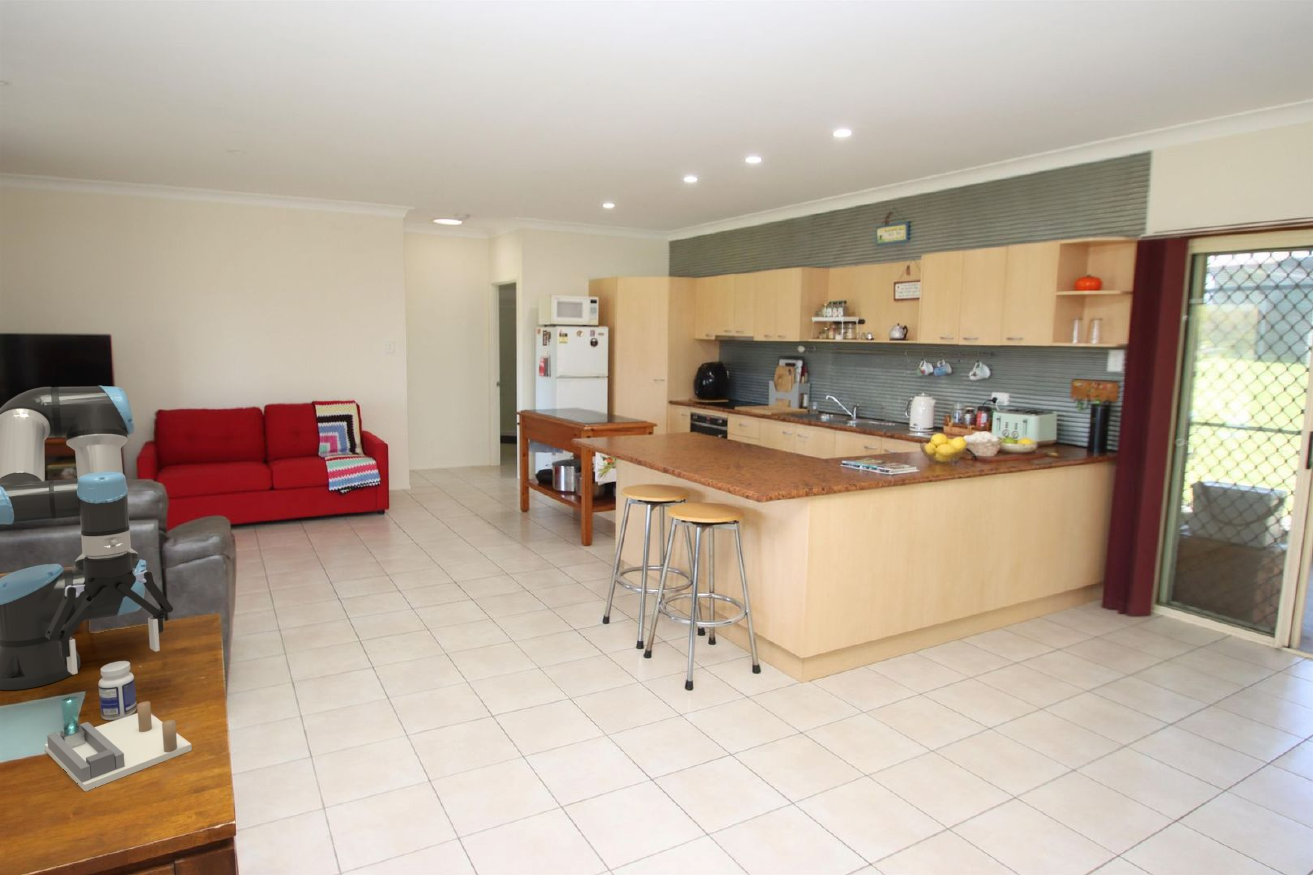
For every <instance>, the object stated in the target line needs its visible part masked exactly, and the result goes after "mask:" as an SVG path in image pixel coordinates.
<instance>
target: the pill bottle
mask: <svg viewBox="0 0 1313 875" xmlns="http://www.w3.org/2000/svg"><path fill="white" fill-rule="evenodd" d="M130 671H131V662H129V661H127V660H119V661H113V662H109V663H107V664H105V665H103V666H102V667H101V668H100V675H101V678H100V679H99V681H98V694H99V695H98V696H99V705H100V707H99V708H100V716H101V718H102V719H103V720H105V721H115V720H118V719H121V718H124V717H127V716H130V715H133V714H135V712H136V710H137V705H138V703H137V696H136V683H135V675H134V674H133V673H132V672H130Z"/></svg>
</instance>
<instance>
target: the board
mask: <svg viewBox="0 0 1313 875" xmlns="http://www.w3.org/2000/svg"><path fill="white" fill-rule="evenodd" d="M136 710H137V713H133V714H131V715H129V716H127V717H124V718H121V719H117V720H111V721H110V722H106V723H104V724H100V725H98V726H95V727H94V726H93V724H91V723H90V722H88V721H85V722H83V723H79V727H80V728H81V729H82V730H83V731H84V739H85V744H82V745H79V746H77V747H74V748H71V747H70V746H69V745H68V744H67V743H66V742H65V741H64V740H63V739H62V738H61V737H60V734H58V733H57V732H52V733H50V734H46V737H47V742H46V743H44V751H45V752H46V753H47V754H48V755H49V756H50V757H51V758H52V759H53V760H54V761H55V762H56V764H57V765H59V767H60V768H61V769H62V770H63V769H64V770H65V771H66V772H67V773H66V772H65V771H64V770H63V771H64V772H65V773H66V774H67V775H68V776H69V777H70V778H71V779H72V780H73V781H74V783H76V784H77V783H78V784H77V786H79V787H80V788H81V789H82V790H83V791H84V792H88V791H91V790H93V789H96V788H99V787H101V786H103V785H106V784H108V783H111V782H114V781H116V780H119V779H122V778H123V777H127V776H130V775H131V774H134V773H137V772H140V771H143V770H145V769H147V768H149V767H152V766H154V765H157V764H160V763H162V762H165V761H168V760H172V759H173V758H176V757H178V756H180V755H183V754H185V753H188V752H191V751H193V750H192V749H193V747H192V743H191V742H189V741H188V740H187V739H186V738H184V737H183V736H181V734H178V732H177V723H176V720H175V719H168V720H165V721H161V720H160V719H159V718H158V717H157V716H155V715H154V714H152V711H151V710H152V708H151V701H142V702H138V703H137V709H136ZM95 787H96V788H95Z"/></svg>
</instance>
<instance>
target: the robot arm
mask: <svg viewBox="0 0 1313 875" xmlns="http://www.w3.org/2000/svg"><path fill="white" fill-rule="evenodd" d="M134 433H135V425H134V420H133V413H132V410H131V406H130V402H129V399H128V395H127V394H126V392H125V390H124V389H123V388H121V387H120V386H105V385H104V386H103V385H97V386H54V387H52V386H43V387H42V386H41V387H37V388H33V389H29V390H26V391H24V392H22V393H19V394H17V395H15V396H14V397H12V398H11V399H9V400H8V401H6V402H5V403H4V404H3V405H1V407H0V525H13V524H19V523H31V522H37V521H38V522H39V521H46V520H47V521H48V520H58V519H70V518H78V517H79V522H80V533H81V537H80V538H81V554H80V555H79V556H78V557H77V558H76V559H75V560H74V566H75V568H73V569H66V570H64V567H63V565H61V564H59V563H50V564H48V563H47V564H46V563H45V564H39V565H34V566H29V567H26V568H23V569H18V570H16V571H13V572H11V573H8V574H6V575H4V576H2V577H0V690H3V691H15V690H17V691H18V690H26V689H31V688H32V689H33V688H37V687H41V686H45V685H49V684H54V683H56V682H58V681H61V680H64V679H66V678H68V677H70V676H71V675H76V674H78V671H79V670H80V668H81V656H80V654H79V653H78V650H77V649H76V639H75V638H73V637H72V636H73V635H74V634H75V633H76V632H77V630H78V628H80V626H81V624H82V623H83V622H84V621H91V620H97V619H102V618H103V619H105V618H110V617H119V616H121V615H127V614H131V613H136V612H138V611H139V610H140V609H141V608H142V609H144V610H145V611H147V612H148V613H149V614H150V615H151V616H148V617H147V624H148V625H147V626H148V637H149V638H148V639H149V640H148V641H149V649H151V651H154V652H155V653H156V652H160V651H161V650H160V649H161V648H160V636H159V635H160V634H161V633H164V632H163V631H164V618H165V617H166V614H169V613H172V612H173V611H174V607H173V605H172V604H171V603H170V601H169V600H168V599H167V597H166V595H164V594H163V592H162V591H161V589H160V588H159V587H158V586H157V584H156V583H155V580H154V576H153V573H152V572H151V571H149V570H147V561H146V560H145V559H142V558H141V559H139V553H138V552H137V551H136V550H134V549H133V548H132V544H131V530H130V521H129V518H130V516H129V499H128V493H129V488H128V484H127V479H126V478H127V477H126V476H125V474H124V470H123V460H122V447H123V446H125V444H126V443H128V442H129V441H128V436H130V435H132V434H134ZM47 438H49V439H50V438H65V441H66V442H65V444H66V446H68V447H70V448H71V449H72V450H74V452H75V466H76V476H77V478H69V479H55V480H46V479H45V478H46V477H45V476H46V474H45V473H46V472H45V471H46V469H45V463H46V462H45V461H46V460H45V441H46V440H47ZM146 590H147V591H148V592H149V594H150V595H151V596H152V598H153V599H154V600H155V602H156V603H157V605H159V608H157V607H156V606H154V605H153V604H152V603H150V602H149V601H147V600H146V599H145V593H146V592H145V591H146Z"/></svg>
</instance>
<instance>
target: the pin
mask: <svg viewBox="0 0 1313 875" xmlns="http://www.w3.org/2000/svg"><path fill="white" fill-rule="evenodd" d="M60 705H61V716H62V726H63V727H62V729H63V730H62V731H59V732H58V733H59V734H58V735H59V736H60V737H61V738H62V739H63V740H64V741H65V742H66V743H67V744H68V745H69V746H70V747H71V748H74V747H77V746H79V745H82V744H85V739H84V731H83V730H82V729H81V728H80V721H79V708H78V707H79V706H78V698H77V696H69V697H66V698H63V699H61V701H60Z"/></svg>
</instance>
